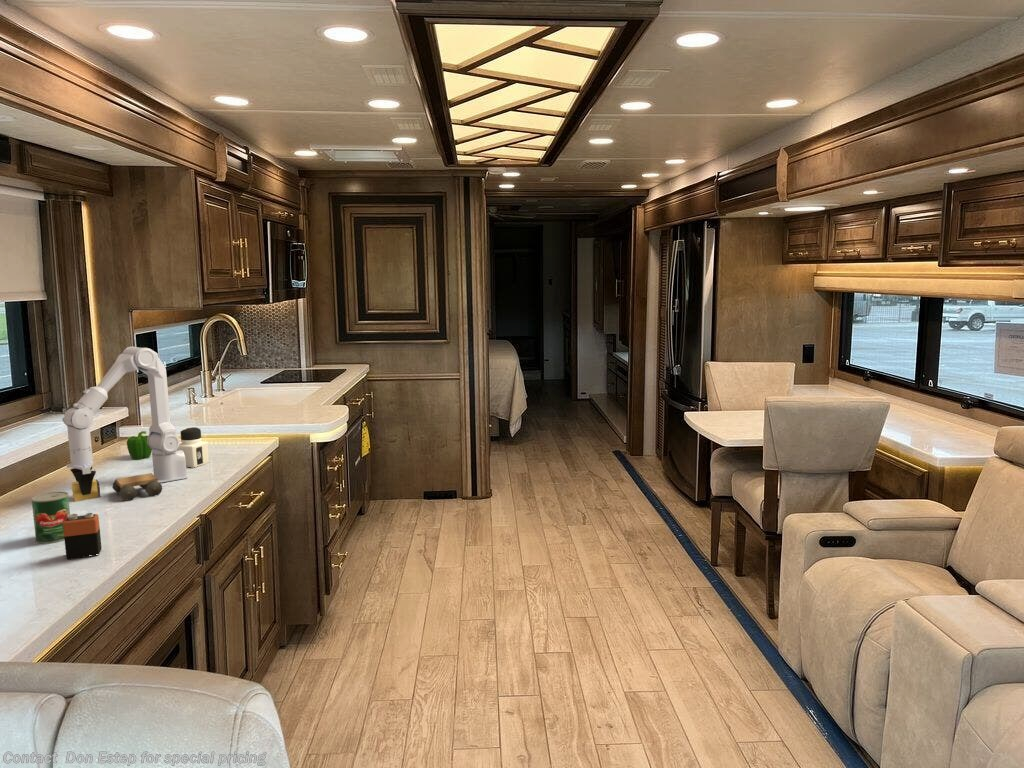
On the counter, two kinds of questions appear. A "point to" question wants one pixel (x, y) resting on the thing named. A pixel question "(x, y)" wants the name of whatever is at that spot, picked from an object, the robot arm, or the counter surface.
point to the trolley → (144, 481)
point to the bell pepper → (139, 446)
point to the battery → (82, 535)
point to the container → (193, 447)
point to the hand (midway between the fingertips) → (85, 492)
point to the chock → (78, 495)
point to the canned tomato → (50, 516)
